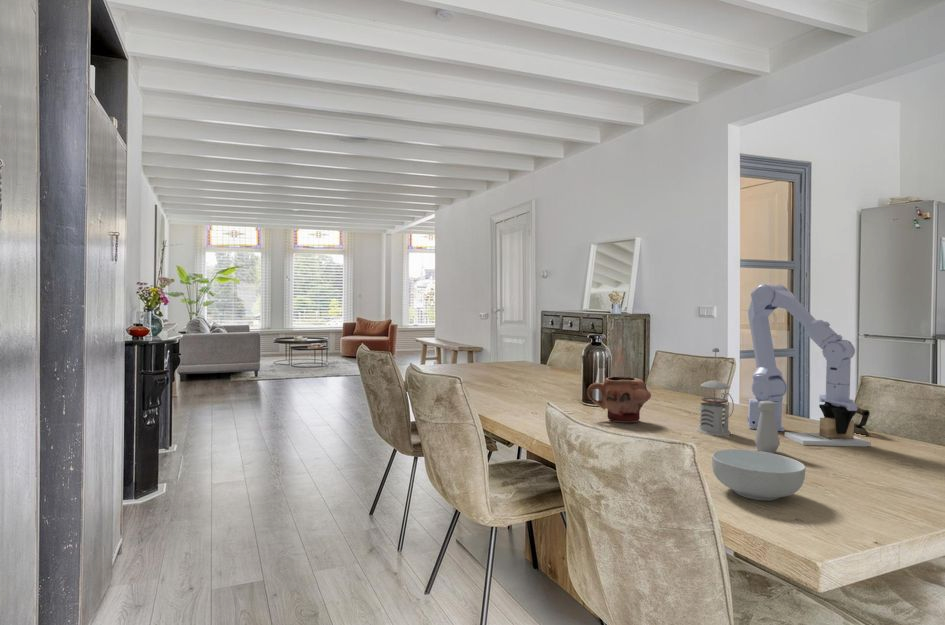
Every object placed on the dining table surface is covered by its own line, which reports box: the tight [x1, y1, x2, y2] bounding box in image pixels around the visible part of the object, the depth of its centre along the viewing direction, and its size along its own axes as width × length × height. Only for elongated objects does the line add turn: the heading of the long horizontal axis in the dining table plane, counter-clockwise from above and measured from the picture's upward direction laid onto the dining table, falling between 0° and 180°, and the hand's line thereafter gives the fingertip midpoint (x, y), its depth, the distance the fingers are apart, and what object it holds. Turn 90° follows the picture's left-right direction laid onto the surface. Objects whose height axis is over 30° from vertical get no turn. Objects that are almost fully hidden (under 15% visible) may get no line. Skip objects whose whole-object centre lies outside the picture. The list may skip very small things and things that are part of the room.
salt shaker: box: [754, 401, 781, 454], centre depth 151 cm, size 6×6×13 cm
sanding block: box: [819, 417, 855, 439], centre depth 163 cm, size 7×4×5 cm, turn 88°
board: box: [784, 431, 872, 447], centre depth 163 cm, size 18×10×1 cm, turn 88°
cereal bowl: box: [711, 448, 806, 501], centre depth 117 cm, size 17×17×7 cm
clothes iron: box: [854, 406, 871, 435], centre depth 175 cm, size 7×11×10 cm, turn 176°
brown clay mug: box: [586, 376, 652, 423], centre depth 188 cm, size 20×12×14 cm, turn 87°
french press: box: [696, 347, 735, 437], centre depth 172 cm, size 10×12×25 cm
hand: (836, 431), depth 163 cm, fingers closed on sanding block, 4 cm apart
